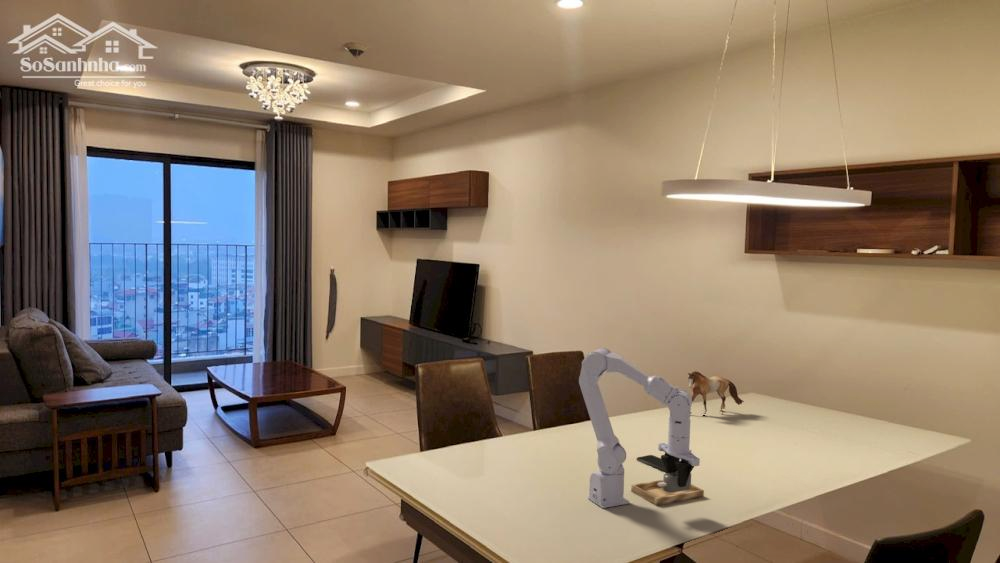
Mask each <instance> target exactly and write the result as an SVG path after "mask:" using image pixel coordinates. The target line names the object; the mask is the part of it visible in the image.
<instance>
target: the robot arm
mask: <svg viewBox="0 0 1000 563" xmlns="http://www.w3.org/2000/svg"><path fill="white" fill-rule="evenodd" d="M604 373H619V374H621V375H622V376H625V377H626V378H628V379H630V380H632V381H633V382H635V383H637V384H639V385H640V386H642V387H643V389H644V392H645V394H647V395H648V396H650V397H652V398H653V399H655V400H657V401H658V402H660V403H661V404H662V405H664V406H667V408H668V410H669V417H668V432H667V433H668V434H667V436H668V437H667V443H665V442H661V443H658V448H657V449H658V451H659V452H664V454H662V455H661V456H660V458H661V459H662V461H663V463H664V465H665V468H666V472H667V473H673V472H677V473H678V486H679V487H684V486H686V484H687V480H688V477H689V475H690V473H691V474H692V470H694V468H695V467H699V466H700V462H701V460H700V458H699V457H697V456H696V455H695V454H694V453H692V450H691V449H690V443H691V441H690V439H691V415H690V411H691V410H690V407H692V404H693V402H692V397H691V396H692V395H691V394H690V393H689V392H687V390H685V389H680V387H679V386H677V385H676V386H674V385H672V384H671V383H669V382H668V381H665V377H664V376H662V375H660V376H658V375H657V374H656V375H650V376H649V375H648V374H647V373H645V372H644V371H642V370H641V369H640V368H638V367H637V366H635V365H634V364H632V363H631V362H630V361H627V360H626V359H624V358H623V357H622V356H620V355H619V354H618V353H616V352H614V351H611V350H610V349H608V348H606V347H598V348H596V349H595V350H594V351H590V352H588V353H587V354H586V355H585V356H584V359H583V360H582V361H581V368H580V375H579V377H578V384H579V387H580V391H581V394H582V396H583V397H582V398H583V400H584V403H585V406H586V409H587V413H588V416H589V418H590V422H591V425H592V428H593V432H594V434H595V437H596V441H597V442H596V451H597V452H596V453H597V465H598V470H596V471H595V472H592V473H591V474H590V478H589V488H588V489H589V495H588V496H587V500H590V501H591V502H593V503H594V504H596V505H597V506H599V507H600V508H602V509H606V508H612V507H615V506H622V505H628V504H630V500H628V499H626V498H624V489H625V488H624V487H625V468H624V466H623V463H625V461H626V459H627V452H626V449H625V448H624V447H623V446H622V445H621V443H620V439H619V438H618V437H617V436H616V435H615V433H614V429H613V427H612V423H611V420H610V418H609V417H610V416H609V415H608V414H609V413H608V411H607V408H606V405H605V401H604V398H603V396H602V393H601V390H600V389H601V388H600V387H599V381H600V379H601V378H602V376H603V374H604Z"/></svg>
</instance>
